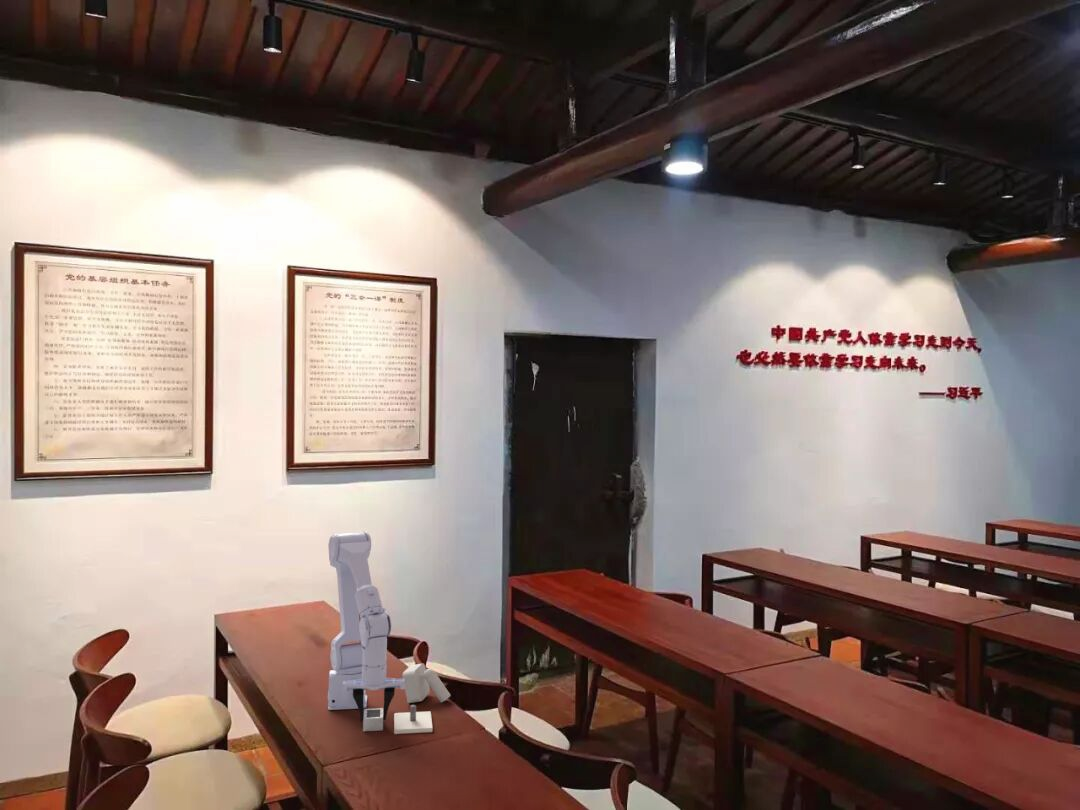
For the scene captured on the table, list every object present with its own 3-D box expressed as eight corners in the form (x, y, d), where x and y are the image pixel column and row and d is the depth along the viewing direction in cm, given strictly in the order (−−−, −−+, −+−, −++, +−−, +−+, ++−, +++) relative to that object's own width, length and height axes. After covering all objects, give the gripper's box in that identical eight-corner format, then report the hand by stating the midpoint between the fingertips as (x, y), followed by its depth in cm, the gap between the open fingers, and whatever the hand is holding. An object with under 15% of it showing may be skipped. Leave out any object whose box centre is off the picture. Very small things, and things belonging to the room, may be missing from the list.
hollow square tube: (382, 730, 194) (383, 717, 194) (363, 731, 193) (363, 718, 193) (383, 720, 200) (383, 708, 200) (364, 721, 199) (364, 708, 199)
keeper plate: (394, 733, 192) (394, 715, 192) (394, 717, 202) (394, 699, 202) (432, 731, 194) (432, 713, 194) (430, 715, 204) (430, 697, 204)
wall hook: (446, 706, 208) (438, 667, 209) (409, 711, 210) (401, 673, 211) (455, 694, 216) (448, 657, 216) (420, 700, 218) (412, 663, 218)
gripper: (342, 670, 191) (341, 727, 191) (405, 667, 193) (403, 724, 194) (344, 660, 198) (343, 715, 198) (404, 658, 200) (403, 712, 200)
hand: (373, 719), depth 196 cm, fingers closed on hollow square tube, 5 cm apart
